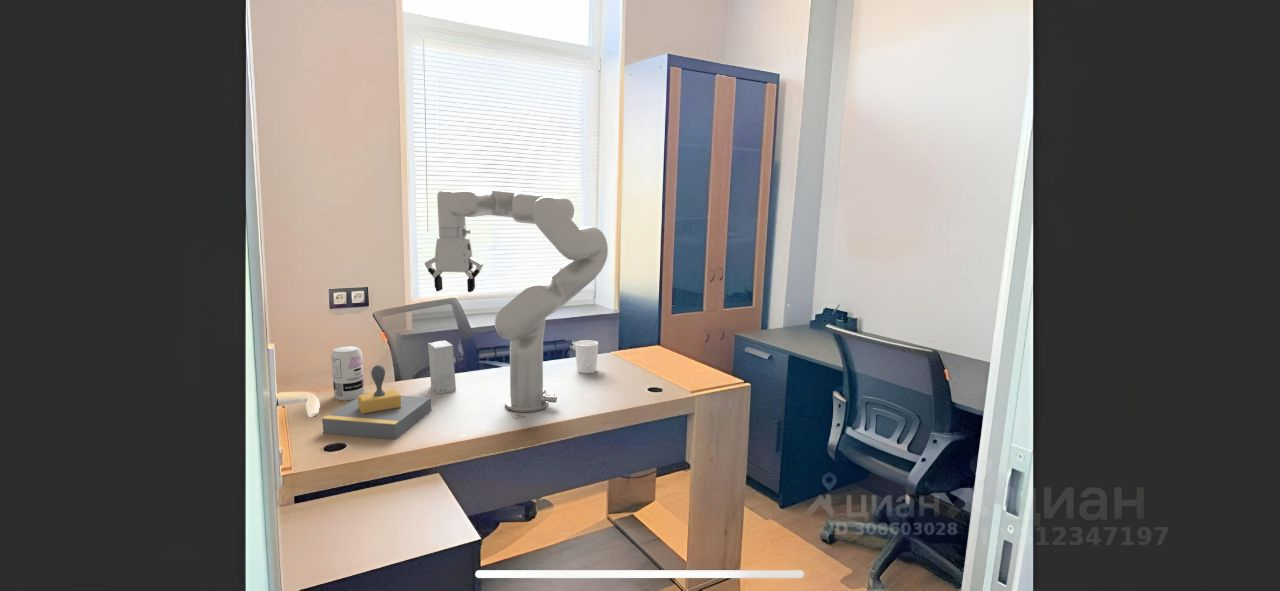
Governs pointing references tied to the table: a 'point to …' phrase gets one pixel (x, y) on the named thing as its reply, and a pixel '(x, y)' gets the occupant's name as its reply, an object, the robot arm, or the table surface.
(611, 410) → the table surface
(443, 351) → the skincare box
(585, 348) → the white cup
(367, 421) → the block
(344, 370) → the supplement can
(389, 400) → the rubber stamp
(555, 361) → the table surface
